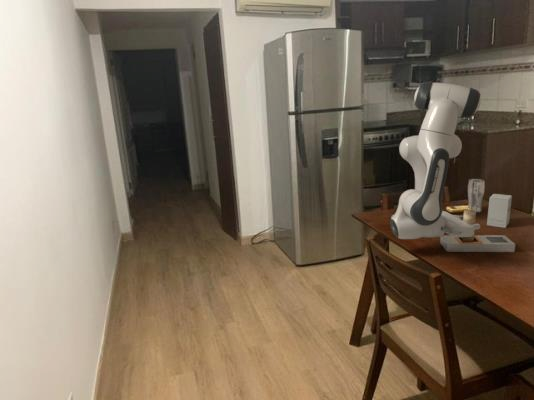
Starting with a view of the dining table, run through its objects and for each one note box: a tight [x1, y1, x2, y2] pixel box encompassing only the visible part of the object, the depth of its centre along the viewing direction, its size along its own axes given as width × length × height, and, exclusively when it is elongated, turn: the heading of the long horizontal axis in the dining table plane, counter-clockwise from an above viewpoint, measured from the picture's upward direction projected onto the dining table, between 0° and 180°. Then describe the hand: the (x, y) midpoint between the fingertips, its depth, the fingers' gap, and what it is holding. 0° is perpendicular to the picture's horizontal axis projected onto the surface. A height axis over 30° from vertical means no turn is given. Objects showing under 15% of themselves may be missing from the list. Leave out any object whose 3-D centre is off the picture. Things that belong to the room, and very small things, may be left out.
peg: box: [462, 209, 477, 242], centre depth 146 cm, size 4×4×14 cm
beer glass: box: [467, 178, 486, 214], centre depth 186 cm, size 7×7×15 cm
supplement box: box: [486, 193, 513, 229], centre depth 167 cm, size 7×7×13 cm
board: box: [439, 234, 516, 253], centre depth 146 cm, size 23×9×3 cm, turn 81°
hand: (471, 222), depth 145 cm, fingers open, 8 cm apart
